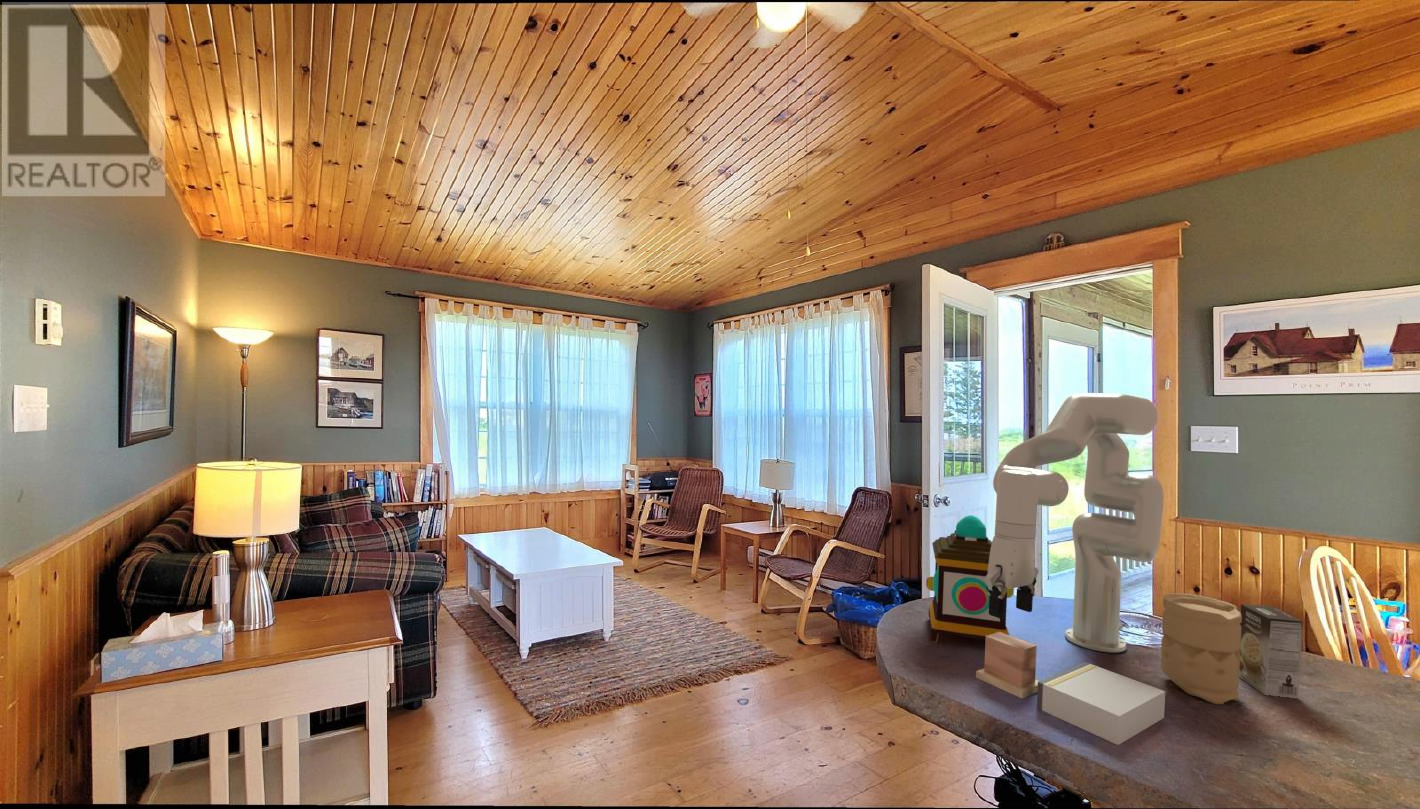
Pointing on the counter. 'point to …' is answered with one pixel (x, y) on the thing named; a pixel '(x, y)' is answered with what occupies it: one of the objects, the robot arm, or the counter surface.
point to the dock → (1101, 702)
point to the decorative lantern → (963, 584)
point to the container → (1202, 646)
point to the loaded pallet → (1010, 664)
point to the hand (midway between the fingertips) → (1010, 613)
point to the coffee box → (1270, 650)
